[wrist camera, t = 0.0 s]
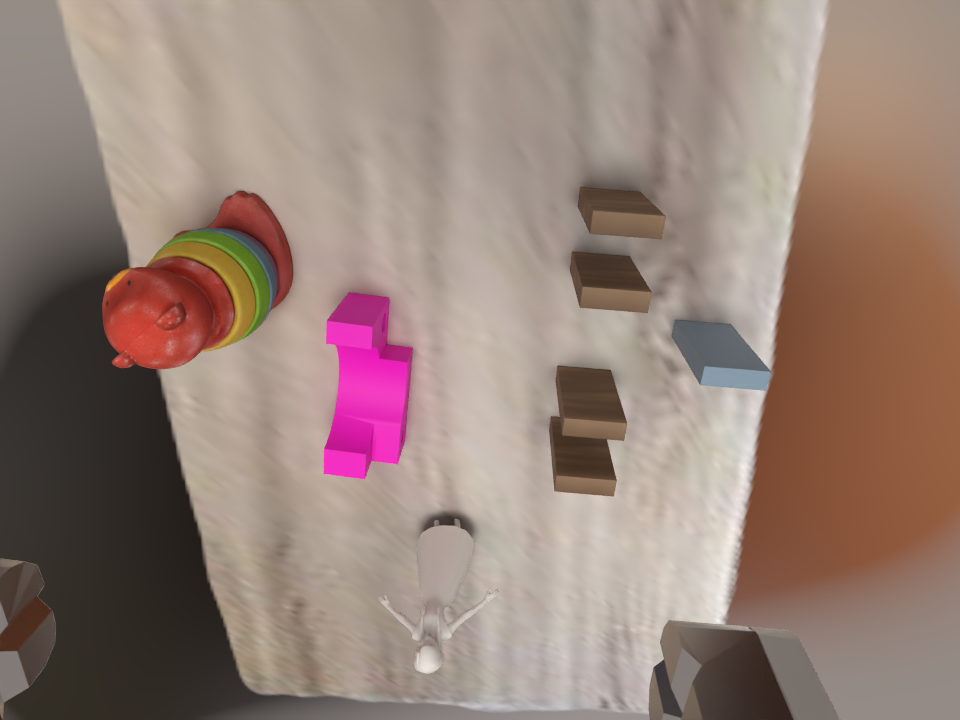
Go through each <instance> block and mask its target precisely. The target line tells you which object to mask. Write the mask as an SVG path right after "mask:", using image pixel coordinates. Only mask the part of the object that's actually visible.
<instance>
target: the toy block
mask: <svg viewBox="0 0 960 720" xmlns="http://www.w3.org/2000/svg"><path fill="white" fill-rule="evenodd" d="M388 314H389V298H387V297H380V296H372V295H365V294H357V293H350V292H349V293H348V294H347V296H346V297H345V298H344V299H343V301H342V302H341V303H340V305H339V306H338V307H337V308H336V310H335V311H334V312H333V313H332V315H331V316H330V317H329V319H328V320H327V336H326V344H334V345H336V347H337V350H338V356H339V387H338V396H337V403H336V409H335V414H334V419H333V423H332V427H331V431H330V434H329V438H328V441H327V443H326V446H325V448H324V474H330V475H337V476H345V477H352V478H360V479H365V477H366V474H367V472H368V469H369V466H370V464H371V461H377V462H385V463H392V464H398V461H399V458H400V455H401V452H402V449H403V445H404V442H405V434H406V422H407V410H408V398H409V386H410V374H411V362H412V350H413V348H410V347H403V346H395V345H388V344H387V329H388Z"/></svg>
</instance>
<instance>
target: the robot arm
mask: <svg viewBox="0 0 960 720" xmlns="http://www.w3.org/2000/svg"><path fill="white" fill-rule="evenodd" d="M43 586H44V582H43V579H42V576H41V573H40V571H39V568H38V565H35V564H31V563H27V562H24V561H16V560H7V559H0V720H3V706H4V702H5V701H7V700H9V699H10V698H12V697H14V696H15V695H17V694H19V693H20V692H22V691H24V690H25V689H27V688H29V687H30V685H31V684H32V683H33V681H34V680H35V679H36V677H37V676H38V675H39V674H40V672H41V671H42V670H43V668H44V667H45V665H46V663H47V660H48V658H49V656H50V653H51V651H52V648H53V646H54V643H55V632H56V623H55V620H54V616H53V612H52V610H51V609H50V608H49V607H48V606H47V605H46V604H44V603H43V602H42V601H41V600H40V599H39V598H38V597H37V595H38V594H39V592H40V591H41V589H42V588H43ZM660 644H661V648H662V652H663V656H664V660H663V661H661V662H660V663H659V664H657V665H656V666H655V667H654V668H653V673H652V677H651V682H650V689H649V716H650V720H840V718H839V716H838V714H837V712H836V710H835V709H834V706H833V704H832V702H831V701H830V699H829V697H828V695H827V693H826V691H825V689H824V687H823V685H822V683H821V681H820V679H819V677H818V675H817V673H816V672H815V669H814V667H813V665H812V663H811V661H810V659H809V657H808V656H807V653H806V651H805V649H804V647H803V646H802V644H801V642H800V640H799V638H798V637H797V636H796V635H795V634H794V633H793V632H792V631H791V630H782V629H769V628H757V627H749V628H747V627H745V626H734V625H722V624H709V623H697V622H685V621H672V620H669V621H668V622H667V624H666V625H665V627H664V629H663V633H662V637H661V640H660Z"/></svg>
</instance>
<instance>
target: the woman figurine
mask: <svg viewBox="0 0 960 720" xmlns="http://www.w3.org/2000/svg"><path fill="white" fill-rule="evenodd" d="M454 523H455V526H446V525H442V526H440V523H439V521H438V520H435V521H434V527H431V528H429V529H427V530H426V531H424V532H423V533H421V535H420V537H419V540H418V542H417V545H416V548H417V562H418V574H419V585H420V593H421V599H422V603H423V605H424V606H425V608H426V609H425V608H424V606H423V608H422V610H421V618H420V620H419V622H418V625H415V624H414V623H412V622H411V621H410V620H409V619H408V618H407V617H406V616H405V615H403V614H402V613H401V612H398V611H397V610H396V609H394V608H393V607H392V606H391V605H390V604H389V600H388V598H387V597H386V595H385V594H384V596H385V599H382V598H381V597H380V596H378V597H379V600H380V602H381V603H382V604H383V605H384V606H385V607H386V608H387V609H388V610H389V611H390V612H391V613H392V614H393V615H394V616H396V618H397V619H398V620H399V621H400V622H401V623H403V624H404V625H405V626H406V627H407V628H408V629H409V630H410V631H411V632H412V634H413V636H412V637H413V639H414V640H417V641H419V644H418V647H417V649H416V650H417V652H416V653H415V654H414V666H415V668H416V670H418V671H420V672H422V673H427V674H428V673H432V672H434V671H436V670H438V669H439V667H440V666H441V664H442V663H443V662H444V653H443V651H442V641H443V640H446V639H448V638H451V634H452V633H453V632H454V631H455V630H456V629H457V627H458V626H459V625H461V624H462V623H463V622H464V621H465V620H466V619H468V618H469V617H471V616H472V615H473V614H474V613H475V612H476V611H478V610H479V609H480V608H481V607H483V606H484V605H485V604H486V603H487V602H489V601H490V600H492V599H494V597H495V596H496V595H497V593H498V592H499V591H498V589H496V590H495V591H494V592H493V593H490V590H491V588H490V589H489V590H488V592H487V593H486V595H485V599H484V600H483V601H481V602H480V603H478V604H477V605H476V606H474V607H473V608H472V609H469V610H467V611H465V612H464V613H462V614H461V615H460V616H458V617H457V618H456V619H455V620H454V621H452V622H451V623H449V624H447V623H446V620H445V617H444V612H443V610H444V609H445V608H446V607H448V606H449V605H450V604H451V603H452V601H453V600H454V598H455V597H456V595H457V593H458V591H459V589H460V586H461V584H462V582H463V580H464V578H465V576H466V573H467V571H468V568H469V565H470V562H471V559H472V555H473V551H474V544H475V541H474V540H473V539H472V537H471V536H470V535H469V534H468V532H467V531H466V530H464V529H461V527H460V521H459V519H454Z"/></svg>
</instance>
